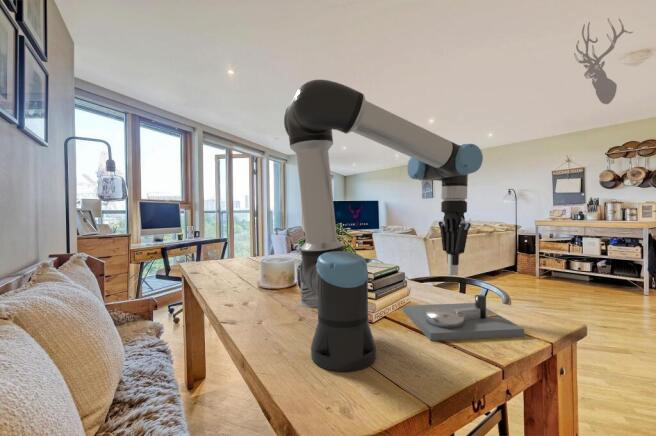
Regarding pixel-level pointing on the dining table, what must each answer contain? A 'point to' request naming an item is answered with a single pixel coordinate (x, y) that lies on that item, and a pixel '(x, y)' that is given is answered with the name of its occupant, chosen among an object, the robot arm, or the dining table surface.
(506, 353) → the dining table surface
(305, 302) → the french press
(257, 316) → the dining table surface
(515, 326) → the stand
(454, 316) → the cam lever
